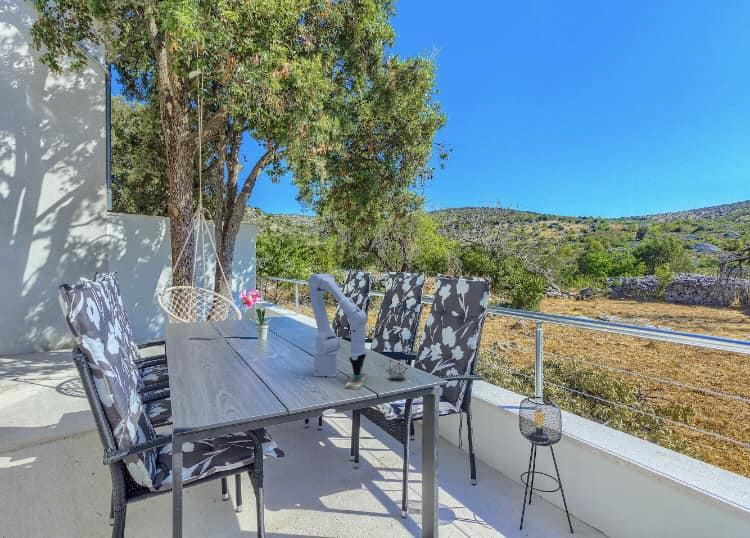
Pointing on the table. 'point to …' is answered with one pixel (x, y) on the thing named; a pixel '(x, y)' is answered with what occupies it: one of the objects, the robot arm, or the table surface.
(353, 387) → the board
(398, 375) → the game die
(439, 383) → the table surface
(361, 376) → the pawn
